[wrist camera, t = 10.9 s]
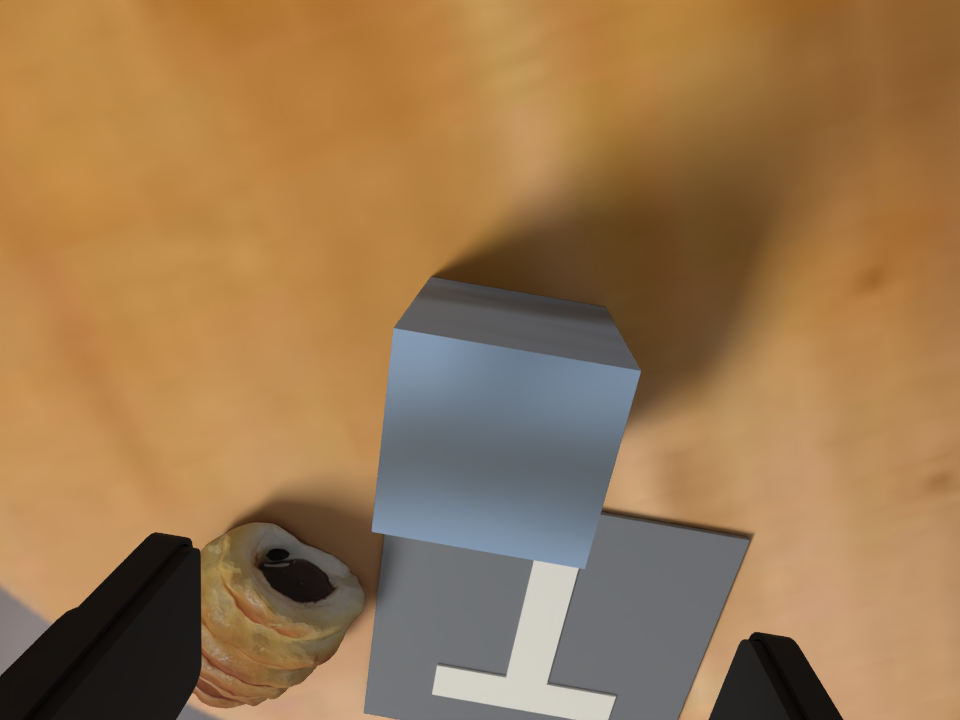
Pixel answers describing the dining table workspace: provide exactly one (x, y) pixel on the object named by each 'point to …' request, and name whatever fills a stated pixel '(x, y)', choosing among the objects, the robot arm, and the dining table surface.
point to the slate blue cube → (502, 422)
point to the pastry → (269, 613)
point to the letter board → (549, 626)
